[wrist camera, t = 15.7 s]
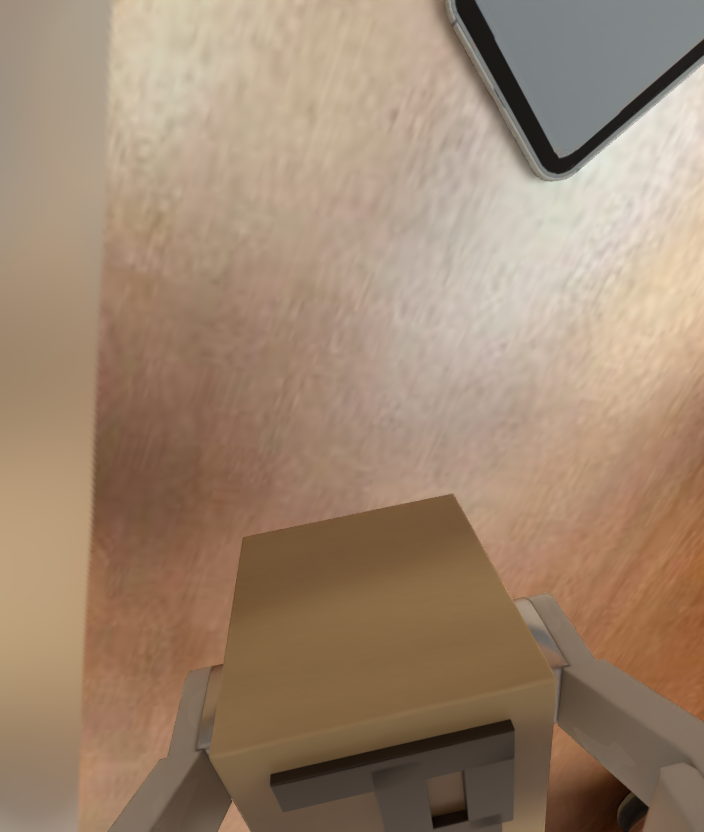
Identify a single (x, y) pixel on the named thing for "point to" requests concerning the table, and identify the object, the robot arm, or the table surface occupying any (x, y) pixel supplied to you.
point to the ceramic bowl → (632, 814)
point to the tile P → (382, 681)
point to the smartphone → (577, 68)
